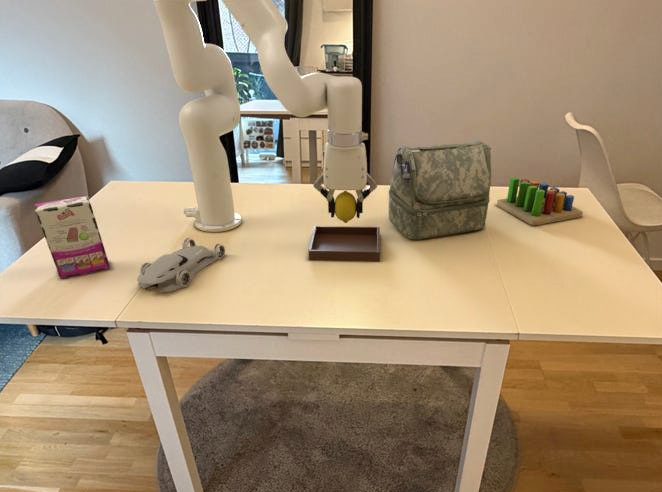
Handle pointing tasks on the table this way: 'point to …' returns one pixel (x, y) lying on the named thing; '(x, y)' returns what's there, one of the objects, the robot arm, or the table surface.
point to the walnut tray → (345, 243)
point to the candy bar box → (72, 236)
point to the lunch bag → (440, 189)
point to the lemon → (345, 206)
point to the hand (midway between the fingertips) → (345, 214)
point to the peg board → (538, 203)
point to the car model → (178, 267)
